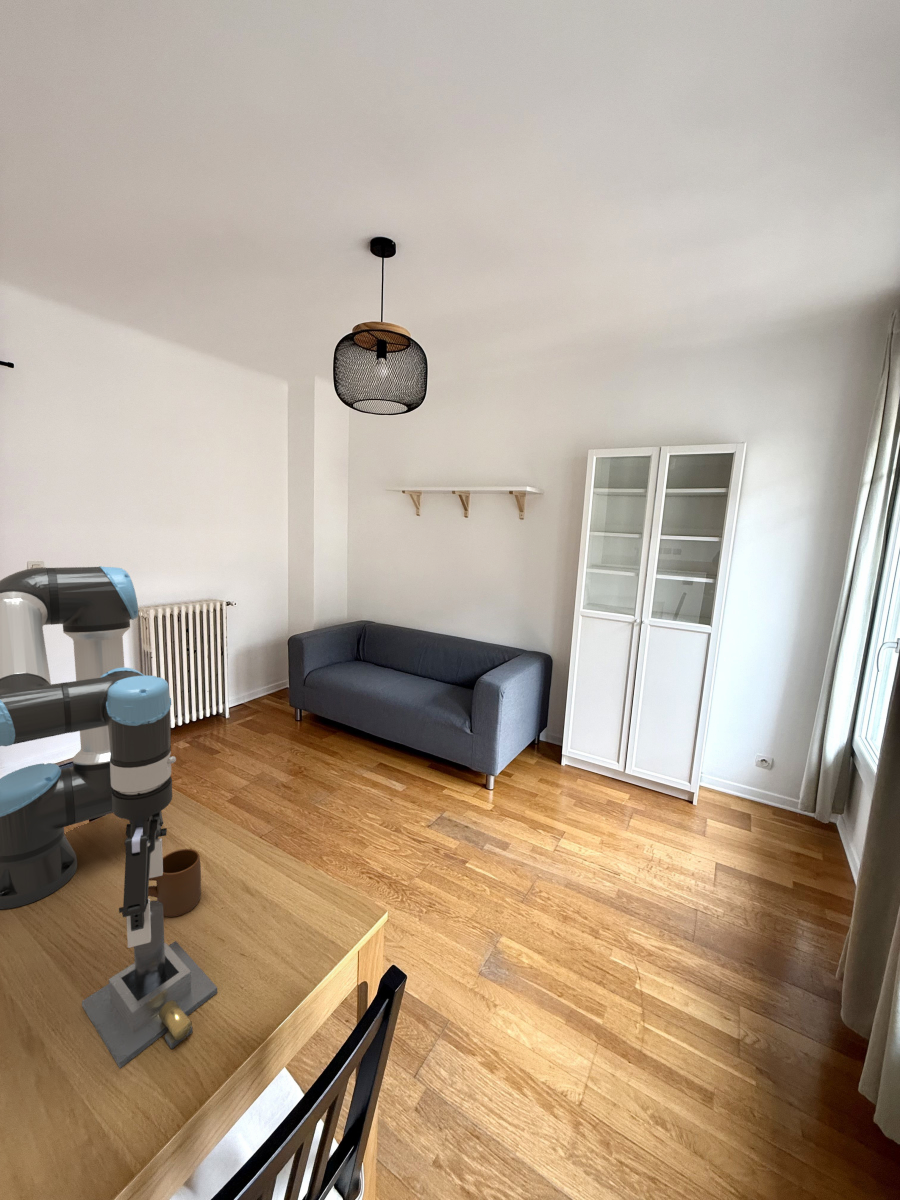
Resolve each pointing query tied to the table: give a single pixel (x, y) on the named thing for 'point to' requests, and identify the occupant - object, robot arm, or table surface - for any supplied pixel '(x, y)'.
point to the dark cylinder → (151, 955)
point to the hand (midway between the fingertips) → (147, 906)
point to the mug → (178, 882)
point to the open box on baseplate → (149, 1006)
